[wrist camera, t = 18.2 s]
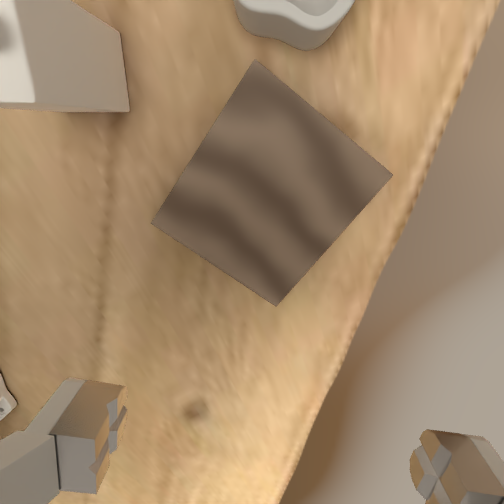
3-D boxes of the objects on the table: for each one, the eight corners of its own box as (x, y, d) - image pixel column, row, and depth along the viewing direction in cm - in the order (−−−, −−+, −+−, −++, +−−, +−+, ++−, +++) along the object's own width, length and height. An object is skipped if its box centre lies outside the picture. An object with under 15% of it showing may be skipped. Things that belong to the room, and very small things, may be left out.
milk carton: (64, 112, 34) (-155, 98, 16) (48, 32, 31) (-235, -90, 13) (131, 112, 33) (-18, 97, 16) (120, 31, 31) (-72, -94, 13)
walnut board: (275, 300, 41) (276, 306, 40) (154, 219, 38) (150, 223, 36) (388, 172, 35) (393, 174, 33) (255, 61, 31) (254, 58, 30)
